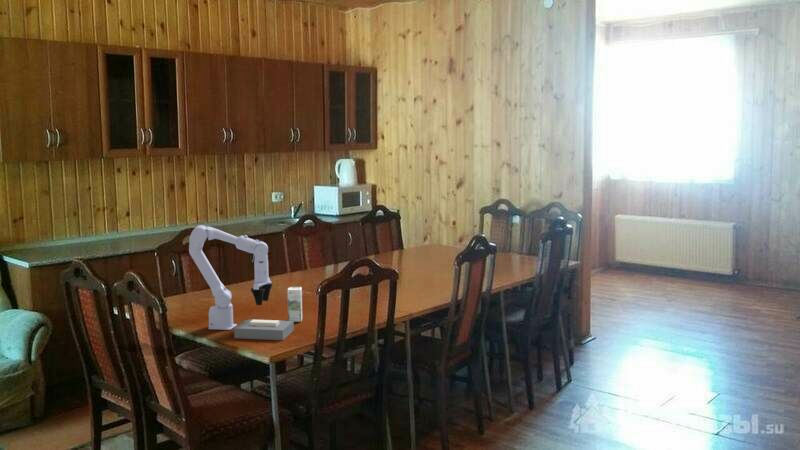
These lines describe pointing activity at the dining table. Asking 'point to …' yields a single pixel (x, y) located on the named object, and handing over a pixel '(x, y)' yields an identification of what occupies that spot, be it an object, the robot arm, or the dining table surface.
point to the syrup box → (295, 304)
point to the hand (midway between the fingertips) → (262, 302)
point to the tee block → (264, 323)
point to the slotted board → (264, 331)
